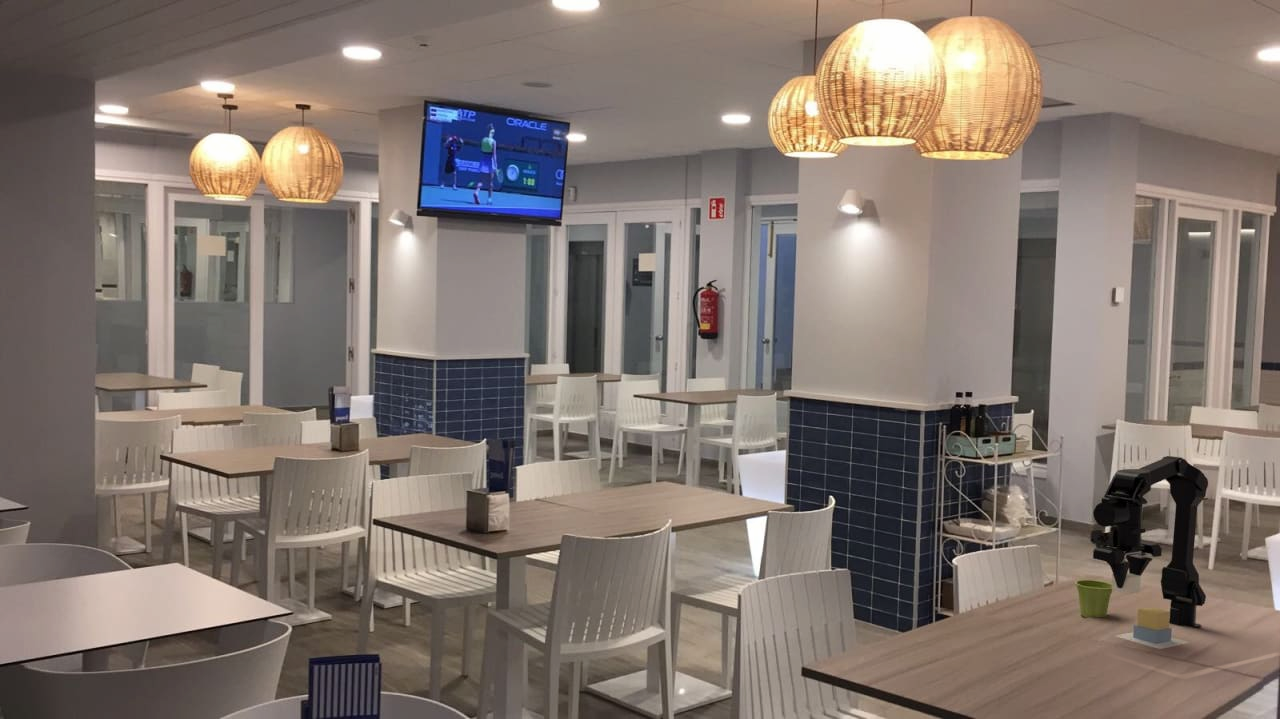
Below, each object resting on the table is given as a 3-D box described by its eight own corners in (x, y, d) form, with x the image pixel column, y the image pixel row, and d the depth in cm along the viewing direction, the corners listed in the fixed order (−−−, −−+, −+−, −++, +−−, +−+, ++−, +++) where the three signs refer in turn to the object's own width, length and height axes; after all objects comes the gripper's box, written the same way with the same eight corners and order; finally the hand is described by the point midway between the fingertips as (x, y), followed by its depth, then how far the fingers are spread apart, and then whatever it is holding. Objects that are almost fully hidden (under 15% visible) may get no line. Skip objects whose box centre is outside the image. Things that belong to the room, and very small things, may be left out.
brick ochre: (1149, 623, 277) (1150, 606, 277) (1168, 628, 273) (1169, 611, 273) (1137, 625, 274) (1138, 609, 274) (1156, 630, 270) (1157, 613, 270)
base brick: (1148, 634, 278) (1148, 622, 278) (1171, 640, 273) (1171, 628, 273) (1133, 637, 275) (1133, 625, 274) (1155, 643, 270) (1156, 631, 269)
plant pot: (1107, 623, 290) (1108, 590, 290) (1069, 616, 296) (1070, 583, 295) (1117, 616, 297) (1118, 583, 297) (1079, 610, 303) (1081, 578, 303)
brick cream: (1123, 588, 279) (1124, 572, 279) (1139, 592, 275) (1140, 575, 275) (1111, 590, 277) (1112, 573, 276) (1128, 594, 273) (1128, 577, 273)
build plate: (1144, 633, 282) (1144, 629, 282) (1189, 645, 272) (1190, 642, 272) (1114, 639, 276) (1114, 635, 276) (1159, 652, 265) (1160, 648, 265)
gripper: (1124, 514, 287) (1121, 575, 288) (1075, 520, 277) (1072, 583, 278) (1164, 522, 277) (1161, 585, 278) (1115, 528, 268) (1112, 594, 268)
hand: (1126, 586), depth 276 cm, fingers closed on brick cream, 4 cm apart
